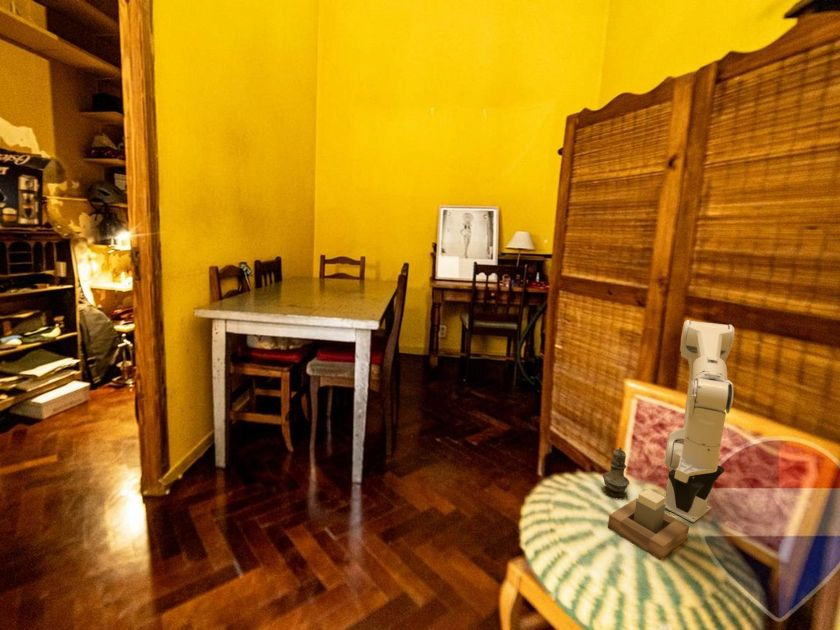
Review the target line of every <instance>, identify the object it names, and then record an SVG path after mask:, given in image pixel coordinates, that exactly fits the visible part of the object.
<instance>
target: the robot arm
mask: <svg viewBox="0 0 840 630" xmlns="http://www.w3.org/2000/svg"><path fill="white" fill-rule="evenodd" d="M681 331H682V332H681V339H680V347H679V348H680V349H679V350H680V352H681V353H680V356H681V357H683V358H684V359H686V360H687V361H688V362H687V363H688V366H689V375H688V384H687V392H686V393H687V394H686V401H685V409H684V416H683V417H684V418H683V424H682V425H683V427H681V428H678V429H676V430H673V431H671V432H669V433H670V434H668V437H667V441H666V444H665V445H666V447H665V452H664V453H665V454H664V464H665V466H666V467H667V468H669V471H668V477H667V485H666V489H665V496H664V497H665V502H664V504H665V505H666V506H665V510H668V511H670V512H672V513H673V514H675V515H677V516H678V517H679V516H680V517H681V518H684V519H685V520H686V521H690V522H691V523H695V522H696V521H697V520H699V519H700V518H702V517H703V516H704V515H705V514H706V513H708V512H709V511H710V510H712V507H711V506H710V505H708V500H709V495H710V493H711V490H712V488H713V486H714V485H715V484H716V481H717V480H718V478H720V476H721V475H722V474H723V473H724V472H725V468H724V467H723V466H721V465H719V464H720V463H719V461H720V460H719V459H720V454H721V453H720V450H721V443H722V439H723V432H724V427H725V423H726V422H725V421H726V416H727V414H729V413H730V411H731V409H732V406H733V402H734V383H733V382H731V380H729V379H728V367H727V364H726V360H727V359H728V358H729V355H730V351H731V350H732V349H733V345H734V340H735V327H734V326H733V324H722V323H712V322H704V321H693V320H689V319H686V320H685V321H684V322H683V326H682V330H681ZM725 411H726V412H725Z"/></svg>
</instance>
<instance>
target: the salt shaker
mask: <svg viewBox="0 0 840 630" xmlns="http://www.w3.org/2000/svg"><path fill="white" fill-rule="evenodd" d="M622 449H623V448H622V447H621V446H620V447H618V449H614V450H613V452H612V459H611V460H610V462H609V463H610V469H609V470H610V471H609V472H604V473H603V475H602V478H603V482H604V485H605V486H603V487H602V492H603V493H604V495H607V496H608V497H610V498H612V499H616V498H617V499H618V500H621V499H620V498H623V499H625V498H626V497H627V493H626V492H625V490H626V489H627V488H628V486H629V485H630V480H629V479H628V478H627V477H626V476H625V470H626V469H627V465H626V464H625V463H626V458H627V454H626V452H625V451H624V450H622ZM617 499H616V500H617Z"/></svg>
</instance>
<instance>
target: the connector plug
mask: <svg viewBox="0 0 840 630" xmlns="http://www.w3.org/2000/svg"><path fill="white" fill-rule="evenodd" d="M637 499H638V500H637V501H636V507H635V514H634V520H633V521H634V522H636V523H638V524H640V525H641V526H643V527H645V528H647V529H648V530H650V531H652V532H653V533H655V534H657V533H658V532H660V531H661V530H662V524H663V518H664V513H666V512H665V510H666V508H665V506H666V505H665V504H664V502H665V496H663V495H661V494H659V493H657V492H655V491H653V490H651V489H649V488H646V489H645V490H643V491H641V492H640V493H639V494H638V497H637Z"/></svg>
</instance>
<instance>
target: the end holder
mask: <svg viewBox="0 0 840 630" xmlns="http://www.w3.org/2000/svg"><path fill="white" fill-rule="evenodd" d="M637 500H638V497H637V498H634V499H633V500H631V501H630V502H628V503H626V504H625V505H623V506H621V507H620V508H619V509H616V510H615V511H612V513H609V515H608V524H607V528H608V529H610V530H611V531H613V532H614V533H616V534H618V535H619V536H621V537H623V538H624V539H625V540H627V541H629V542H631V543H632V544H633V545H635V546H637V547H639V549H641V550H643V551H645V552H646V553H648V554H650V555H651V556H653V557H655V558H656V559H658V560H660V561H662V560H663V559H664V558H667V556H668V555H670V554H671V553H672V552H673V551H675V550H676V549H677V548H678V547H679V546H680V545H682V544H683V543H685V541H686V540H688V535H689V531H690V525H688V524H686V523H684V522H682V521H680V520H679V519H677V518H675V517H673V516H671V515H669V514H667V513H666V512H664V518H663V524H662V530H661V531H660V532H658V533H657V534H655V533H653V532H652V531H650V530H648V529H647V528H645V527H643V526H641V525H640V524H638V523H636V522H634V521H633V520H634V514H635V507H636V501H637Z"/></svg>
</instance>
